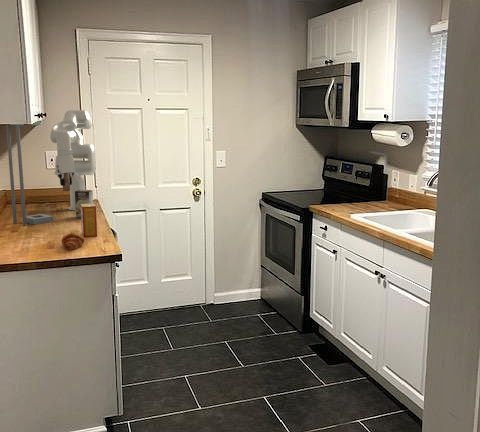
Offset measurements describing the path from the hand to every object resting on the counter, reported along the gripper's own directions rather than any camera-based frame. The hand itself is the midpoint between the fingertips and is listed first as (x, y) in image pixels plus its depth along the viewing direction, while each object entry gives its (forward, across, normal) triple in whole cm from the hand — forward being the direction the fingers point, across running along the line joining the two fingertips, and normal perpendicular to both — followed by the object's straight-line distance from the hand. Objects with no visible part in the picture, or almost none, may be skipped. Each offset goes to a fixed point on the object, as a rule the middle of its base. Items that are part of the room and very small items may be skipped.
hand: (66, 184), depth 303 cm
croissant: (+21, +36, +55) cm, 69 cm away
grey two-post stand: (+21, +18, -11) cm, 29 cm away
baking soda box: (+21, +17, +42) cm, 49 cm away
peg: (+3, 0, 0) cm, 3 cm away
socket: (+21, +13, -10) cm, 27 cm away
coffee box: (+21, -13, -2) cm, 25 cm away
